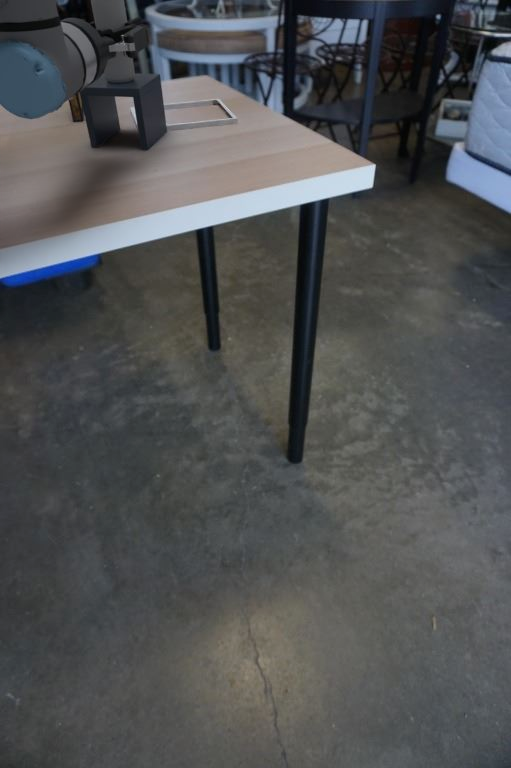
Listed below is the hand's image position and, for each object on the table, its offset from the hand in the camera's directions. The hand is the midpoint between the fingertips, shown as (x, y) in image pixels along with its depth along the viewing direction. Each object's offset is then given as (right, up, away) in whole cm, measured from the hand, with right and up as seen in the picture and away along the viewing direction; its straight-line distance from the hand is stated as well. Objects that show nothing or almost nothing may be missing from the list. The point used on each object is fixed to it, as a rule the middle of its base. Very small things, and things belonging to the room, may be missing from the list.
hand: (122, 27), depth 85 cm
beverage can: (0, -8, +1) cm, 8 cm away
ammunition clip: (-13, -4, +19) cm, 24 cm away
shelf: (0, -15, +6) cm, 16 cm away
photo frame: (+7, -7, +16) cm, 19 cm away
